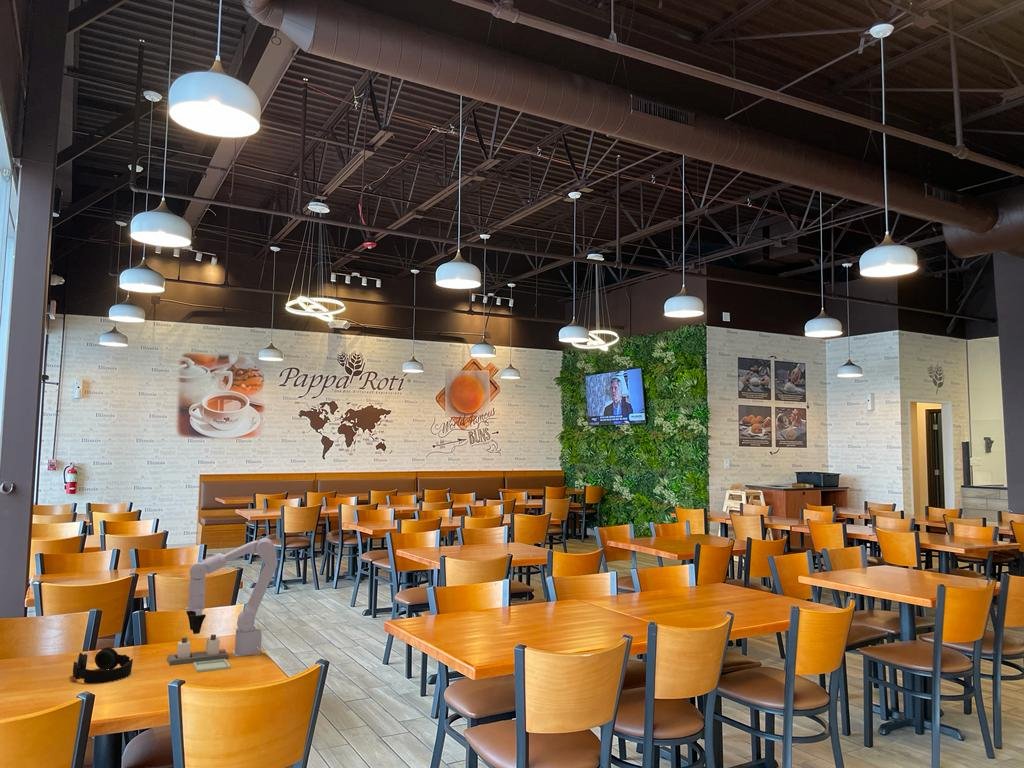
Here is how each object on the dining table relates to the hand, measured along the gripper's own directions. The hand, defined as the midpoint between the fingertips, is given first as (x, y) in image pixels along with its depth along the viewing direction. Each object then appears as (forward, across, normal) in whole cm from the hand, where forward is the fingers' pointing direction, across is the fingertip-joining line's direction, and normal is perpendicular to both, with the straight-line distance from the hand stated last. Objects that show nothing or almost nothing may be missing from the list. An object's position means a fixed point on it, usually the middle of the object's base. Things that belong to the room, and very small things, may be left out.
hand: (194, 631), depth 282 cm
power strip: (+9, +6, +1) cm, 11 cm away
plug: (+9, +6, -4) cm, 12 cm away
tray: (+9, +19, +4) cm, 21 cm away
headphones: (+10, +11, -31) cm, 34 cm away
